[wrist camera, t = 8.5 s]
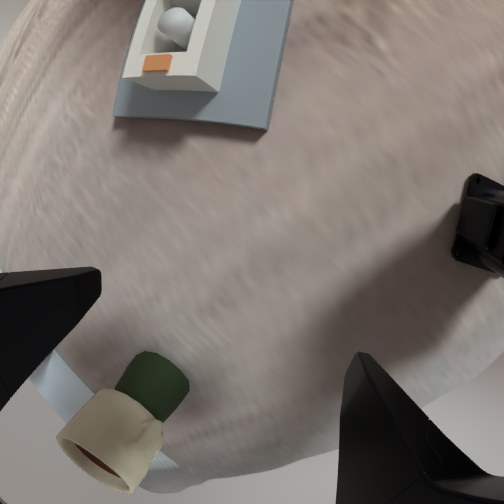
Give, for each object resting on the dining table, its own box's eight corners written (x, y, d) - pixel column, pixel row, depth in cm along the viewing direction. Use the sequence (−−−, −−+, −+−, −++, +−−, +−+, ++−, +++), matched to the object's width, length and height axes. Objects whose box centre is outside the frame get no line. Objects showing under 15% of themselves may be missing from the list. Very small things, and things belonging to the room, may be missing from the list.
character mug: (152, 406, 28) (96, 487, 16) (112, 359, 27) (39, 434, 15) (225, 386, 25) (171, 501, 13) (178, 327, 24) (89, 432, 12)
